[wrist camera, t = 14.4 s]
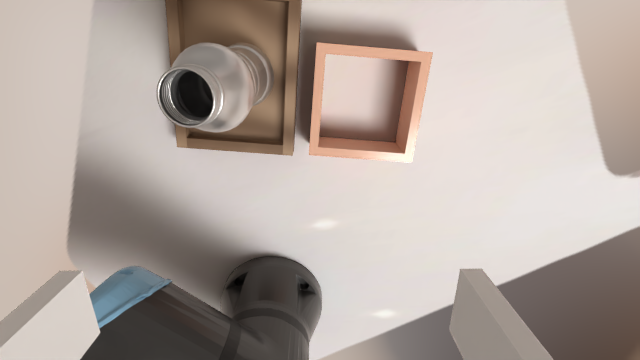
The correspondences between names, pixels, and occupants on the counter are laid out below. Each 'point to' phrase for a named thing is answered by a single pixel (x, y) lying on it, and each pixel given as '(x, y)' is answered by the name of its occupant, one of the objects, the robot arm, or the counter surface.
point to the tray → (261, 31)
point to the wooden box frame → (408, 115)
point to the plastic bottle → (215, 85)
